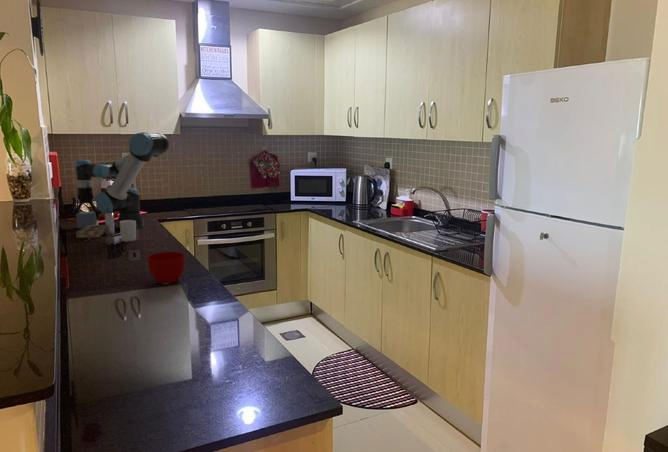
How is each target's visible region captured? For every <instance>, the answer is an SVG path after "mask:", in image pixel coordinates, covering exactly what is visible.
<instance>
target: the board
mask: <svg viewBox="0 0 668 452" xmlns="http://www.w3.org/2000/svg"><path fill="white" fill-rule="evenodd" d="M104 234H106V225H105V224H100V225H99V224H98V225H88V226H86V227H84V228H80V229H79V230H77V231H76V232H75V235H76V236H75V238H78V239H79V238H99V237H101V236H102V235H104Z"/></svg>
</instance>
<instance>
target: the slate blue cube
mask: <svg viewBox="0 0 668 452" xmlns="http://www.w3.org/2000/svg"><path fill="white" fill-rule="evenodd" d="M95 215H96V213H95V212H94V211H79V213H78V214H76V220H75V221H76V228H77V229H82V228H84V227H86V226H88V225H95Z"/></svg>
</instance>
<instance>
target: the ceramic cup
mask: <svg viewBox="0 0 668 452" xmlns="http://www.w3.org/2000/svg"><path fill="white" fill-rule="evenodd" d="M147 263H148V270H149V273H150V275H151V277H152V278H153V279H154V280H155V281H156V282H157V284H159V283H173V282H176V281H178V280H179V279H180V278H181V276H182V275H183V272H184V267H185V253H183V252H177V251H164V252H162V251H161V252H156V253H153V254H150V255H147ZM176 283H177V282H176ZM173 284H174V283H173Z"/></svg>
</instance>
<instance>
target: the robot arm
mask: <svg viewBox="0 0 668 452" xmlns="http://www.w3.org/2000/svg"><path fill="white" fill-rule="evenodd" d="M128 141H129V142H128V144H129V145H128V146H129V147H128V148H129V149H128V150H129V153H128V154H126V155H124V156H123V157H120V158H119V159H117V160H115V161H113V162H110V163H107V162H106V163H91V160H90V159H77V160H76V161H75V172H76V173H75V174H76V183H77V184H76V185H77V196H72V198H71V199H72V205H71V212H70V214H71V215H74V220H75V221H76V214H78V213H80V212H81V211H80V210H81V209H82V206H83V204H89V205H90V208H91V209H92V210H93V212H95V213H96V215H95V225H99V220H100V214H102V213H103V214H105V213H110V212H111V213H116V212H118V216H117V221H116V224H115V225H116V229H120V223H119V222H120V221H124V220H135V221H136V229H139V228H143V227H144V226H145V221H144V219H143V217H142V215H141V203H140V202H141V200H140V199H141V198H140V191H139V189H138V188H131V186H132V184H133V183H134V181H135V179H136V178H137V176H138V175H139V173H140V172H141V170H142V169H143V166H144V165H145V163H148V162H150V161H151V160H152V158H153V157H154V158H157V157H159V156H162V155H164V154H166V153H167V152H168V150H169V147H170V143H169V142H170V141H169V139H168V138H167V136H165V135H164V134H163V133H160V132H137V133H135V134H133V135H132V136H131V137H130V139H129V140H128ZM106 177H115V179H114V180H113V182H112V183H111V184H110V185H107V186H106V187H105V189H104V191H103V192H99V193H98V194H96V196H95V195H94V193H93V192H94V191H93V182H92V181H93V179H92V178H98V179H100V178H101V179H103V178H106ZM78 200H79V202H78V205H77V201H78ZM93 200H94V201H95V202H93ZM94 203H95V204H94ZM76 207H77V208H76Z"/></svg>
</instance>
